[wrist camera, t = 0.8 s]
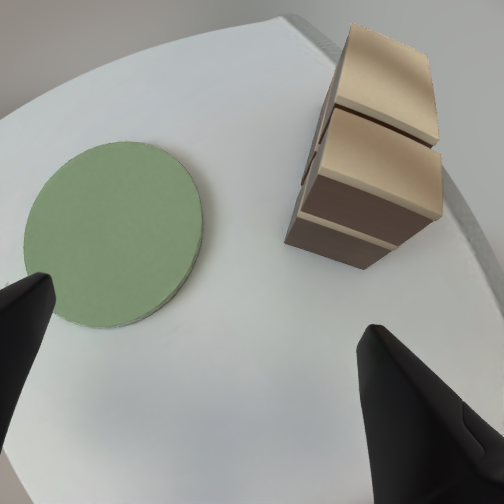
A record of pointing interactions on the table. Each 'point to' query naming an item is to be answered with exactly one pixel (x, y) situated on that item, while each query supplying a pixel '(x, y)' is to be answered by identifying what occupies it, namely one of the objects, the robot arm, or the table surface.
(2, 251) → the table surface
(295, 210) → the cake slice
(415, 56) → the cake loaf
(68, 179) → the plate
